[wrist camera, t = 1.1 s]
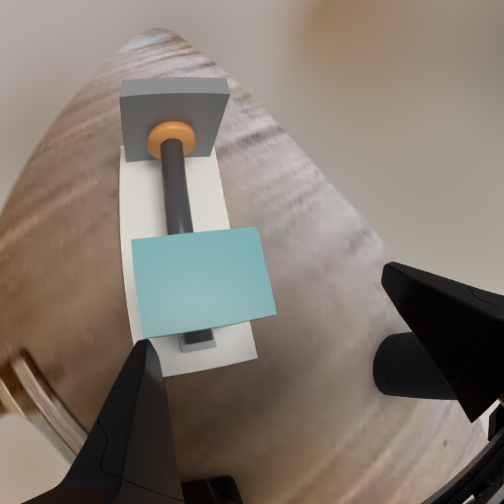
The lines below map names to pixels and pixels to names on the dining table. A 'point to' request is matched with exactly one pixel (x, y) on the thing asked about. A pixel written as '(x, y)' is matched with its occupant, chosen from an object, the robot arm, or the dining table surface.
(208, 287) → the teal block on rod
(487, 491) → the robot arm
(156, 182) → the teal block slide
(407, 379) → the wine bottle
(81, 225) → the dining table surface
